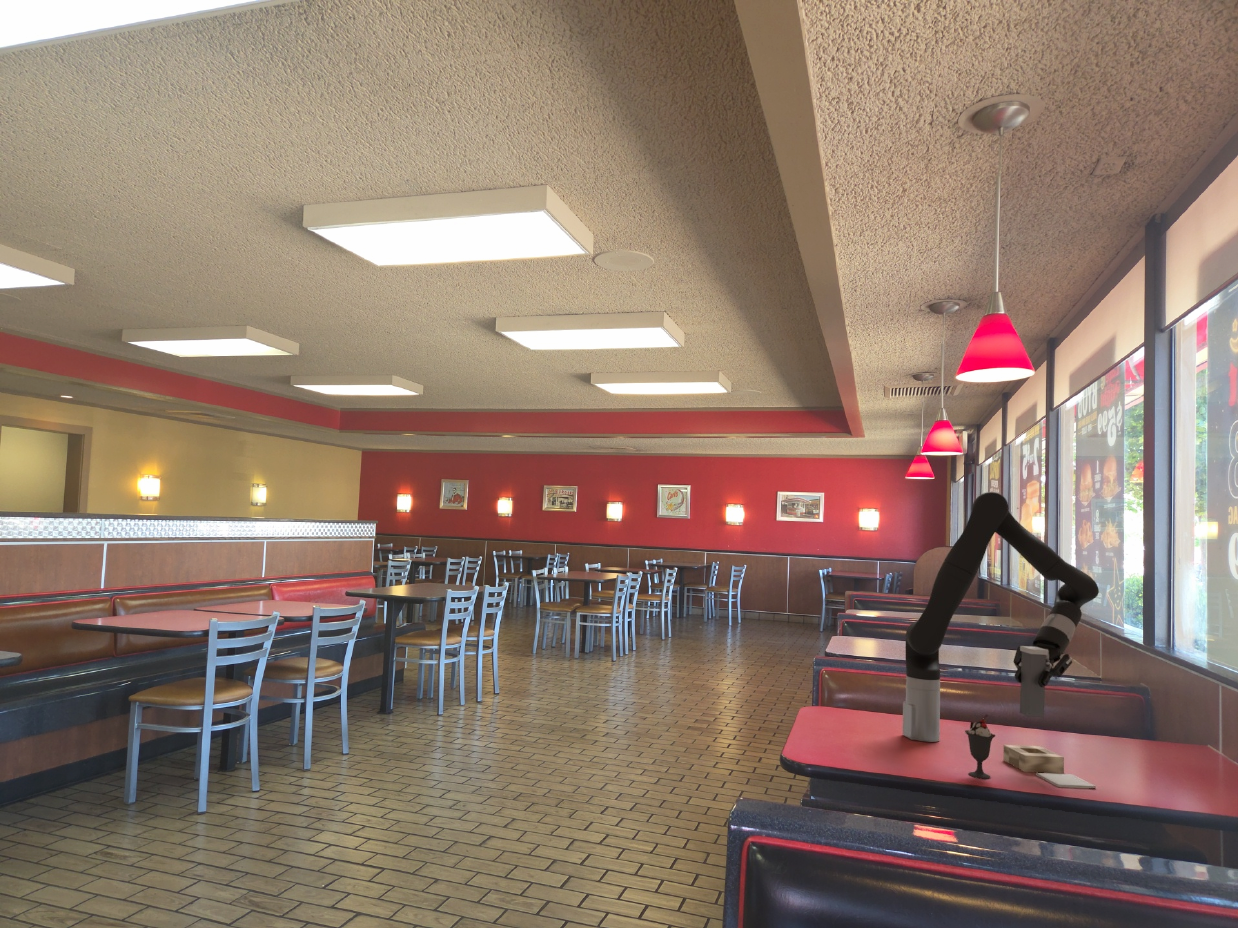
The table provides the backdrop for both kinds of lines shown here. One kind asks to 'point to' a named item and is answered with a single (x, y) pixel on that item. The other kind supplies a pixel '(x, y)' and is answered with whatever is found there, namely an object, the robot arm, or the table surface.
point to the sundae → (979, 745)
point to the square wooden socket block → (1033, 759)
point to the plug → (1032, 681)
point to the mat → (1065, 780)
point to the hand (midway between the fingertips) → (1029, 682)
